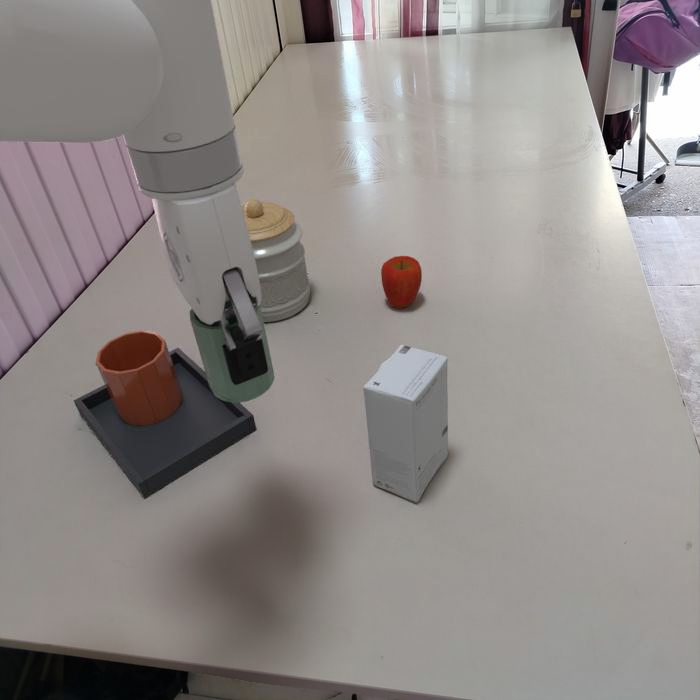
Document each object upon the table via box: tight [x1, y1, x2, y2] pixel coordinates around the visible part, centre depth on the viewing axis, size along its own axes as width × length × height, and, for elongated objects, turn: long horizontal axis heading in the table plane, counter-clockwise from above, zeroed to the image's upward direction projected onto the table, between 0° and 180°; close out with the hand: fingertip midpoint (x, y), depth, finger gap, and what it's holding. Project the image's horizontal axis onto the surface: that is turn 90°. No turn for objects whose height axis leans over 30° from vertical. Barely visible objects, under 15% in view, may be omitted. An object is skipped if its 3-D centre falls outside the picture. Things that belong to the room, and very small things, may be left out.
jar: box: [241, 198, 311, 323], centre depth 98 cm, size 13×13×18 cm
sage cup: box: [189, 301, 275, 403], centre depth 55 cm, size 6×6×8 cm
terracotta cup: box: [95, 330, 182, 426], centre depth 82 cm, size 8×8×9 cm
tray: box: [73, 347, 257, 499], centre depth 82 cm, size 16×20×3 cm
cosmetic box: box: [363, 344, 449, 504], centre depth 68 cm, size 8×6×15 cm
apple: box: [380, 255, 423, 309], centre depth 97 cm, size 6×6×8 cm
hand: (235, 355), depth 56 cm, fingers closed on sage cup, 5 cm apart
